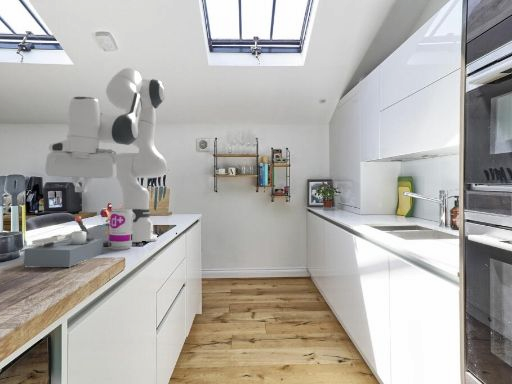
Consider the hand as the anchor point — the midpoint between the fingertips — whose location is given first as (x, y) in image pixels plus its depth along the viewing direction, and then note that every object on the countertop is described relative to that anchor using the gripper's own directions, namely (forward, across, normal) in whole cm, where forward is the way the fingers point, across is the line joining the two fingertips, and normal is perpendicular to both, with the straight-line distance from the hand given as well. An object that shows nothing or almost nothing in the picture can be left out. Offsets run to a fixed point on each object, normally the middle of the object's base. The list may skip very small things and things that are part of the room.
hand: (80, 192), depth 98 cm
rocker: (+14, +6, +6) cm, 16 cm away
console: (+21, +3, 0) cm, 21 cm away
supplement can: (+21, -5, -22) cm, 31 cm away
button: (+16, 0, 0) cm, 16 cm away
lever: (+14, 0, -6) cm, 16 cm away
